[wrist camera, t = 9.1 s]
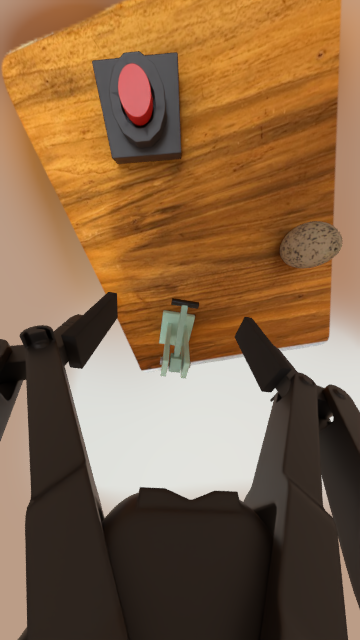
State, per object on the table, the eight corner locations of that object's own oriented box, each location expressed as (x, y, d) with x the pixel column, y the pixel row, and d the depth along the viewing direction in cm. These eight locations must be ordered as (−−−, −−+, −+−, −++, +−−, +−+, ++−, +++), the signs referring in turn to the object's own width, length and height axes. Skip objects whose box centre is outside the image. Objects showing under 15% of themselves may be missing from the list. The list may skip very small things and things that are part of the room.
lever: (172, 297, 28) (172, 298, 26) (197, 301, 29) (200, 302, 26) (162, 364, 31) (161, 370, 28) (185, 367, 31) (186, 373, 29)
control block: (177, 69, 19) (177, 34, 15) (181, 159, 23) (181, 146, 20) (100, 76, 19) (82, 43, 16) (117, 164, 23) (106, 152, 20)
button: (150, 76, 17) (147, 61, 15) (155, 124, 19) (153, 115, 17) (119, 79, 17) (113, 64, 15) (127, 127, 19) (122, 118, 17)
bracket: (163, 309, 37) (156, 347, 25) (194, 314, 38) (201, 353, 26) (159, 340, 42) (152, 383, 30) (187, 344, 43) (190, 387, 31)
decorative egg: (301, 212, 27) (358, 204, 18) (315, 243, 29) (371, 250, 21) (264, 243, 29) (299, 250, 21) (280, 270, 32) (317, 285, 23)
